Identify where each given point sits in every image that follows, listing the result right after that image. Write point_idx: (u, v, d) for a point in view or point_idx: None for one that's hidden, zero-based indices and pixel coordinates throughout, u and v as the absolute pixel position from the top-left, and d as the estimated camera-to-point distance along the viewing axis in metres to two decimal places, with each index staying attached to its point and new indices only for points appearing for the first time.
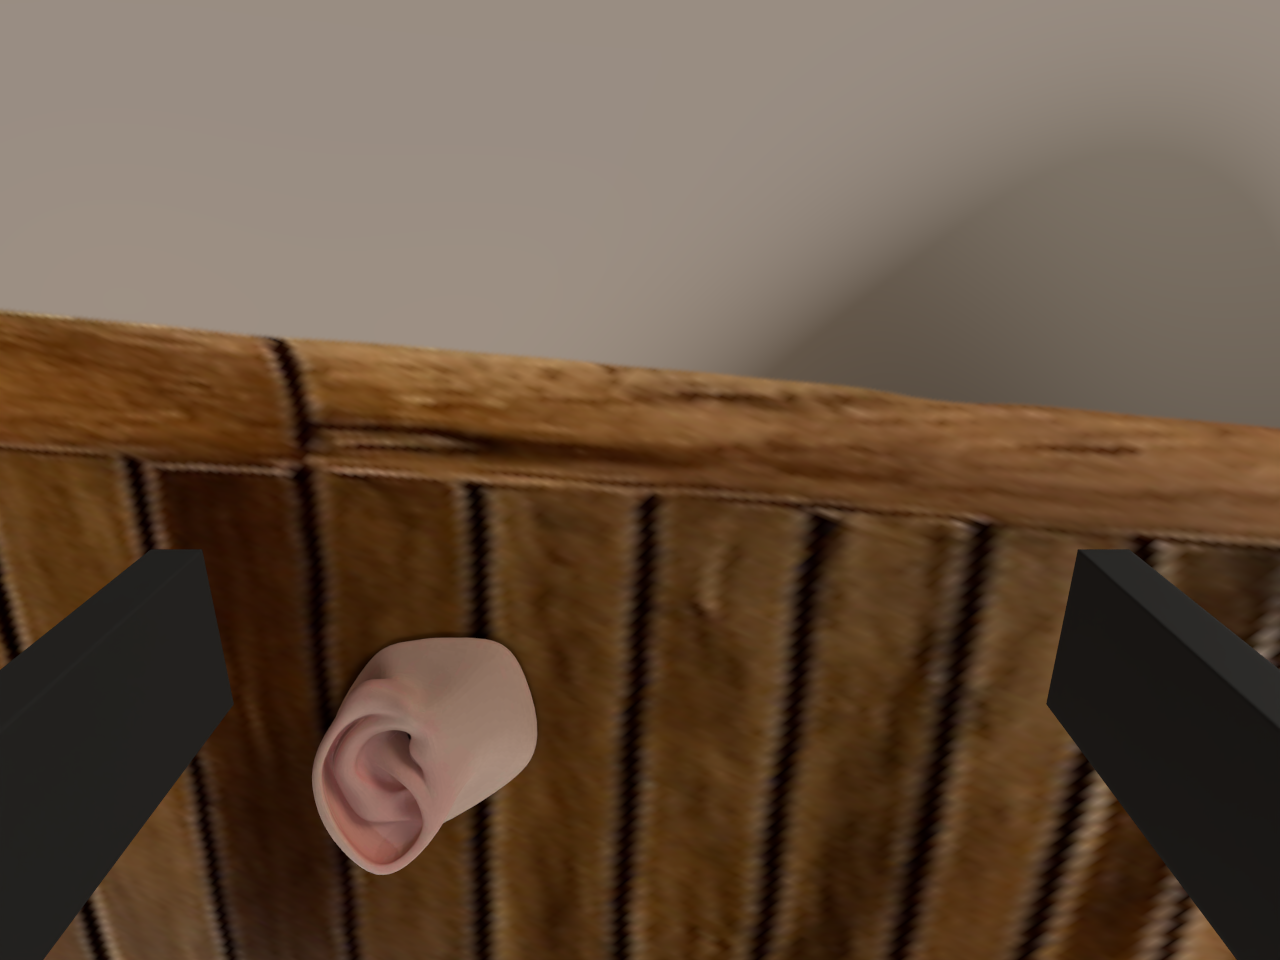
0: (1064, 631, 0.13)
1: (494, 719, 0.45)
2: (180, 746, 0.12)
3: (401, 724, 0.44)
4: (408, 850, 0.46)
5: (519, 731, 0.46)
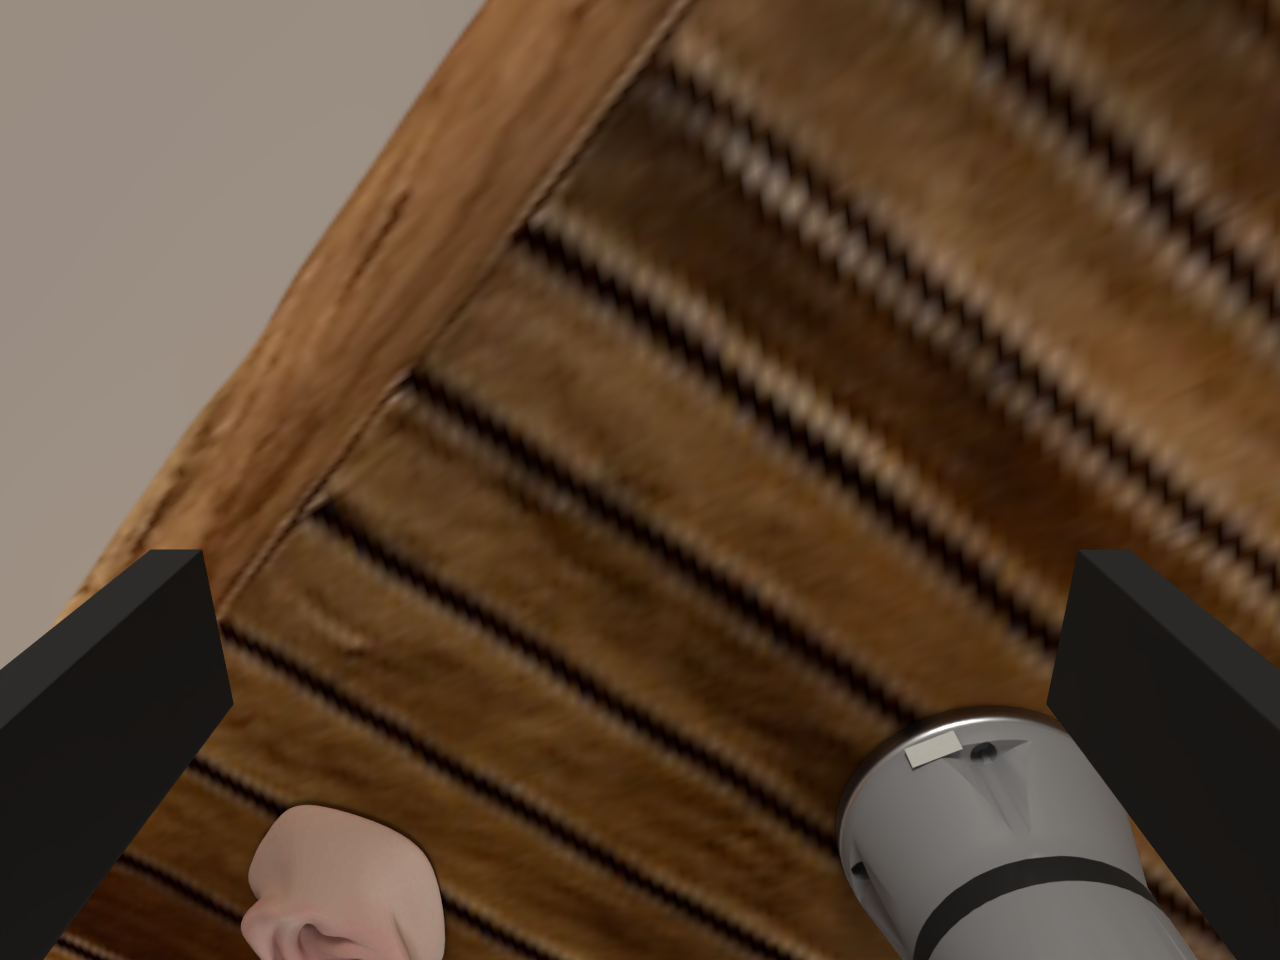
0: (1064, 631, 0.13)
1: (346, 859, 0.47)
2: (180, 745, 0.12)
3: (286, 925, 0.46)
4: None
5: (377, 848, 0.47)
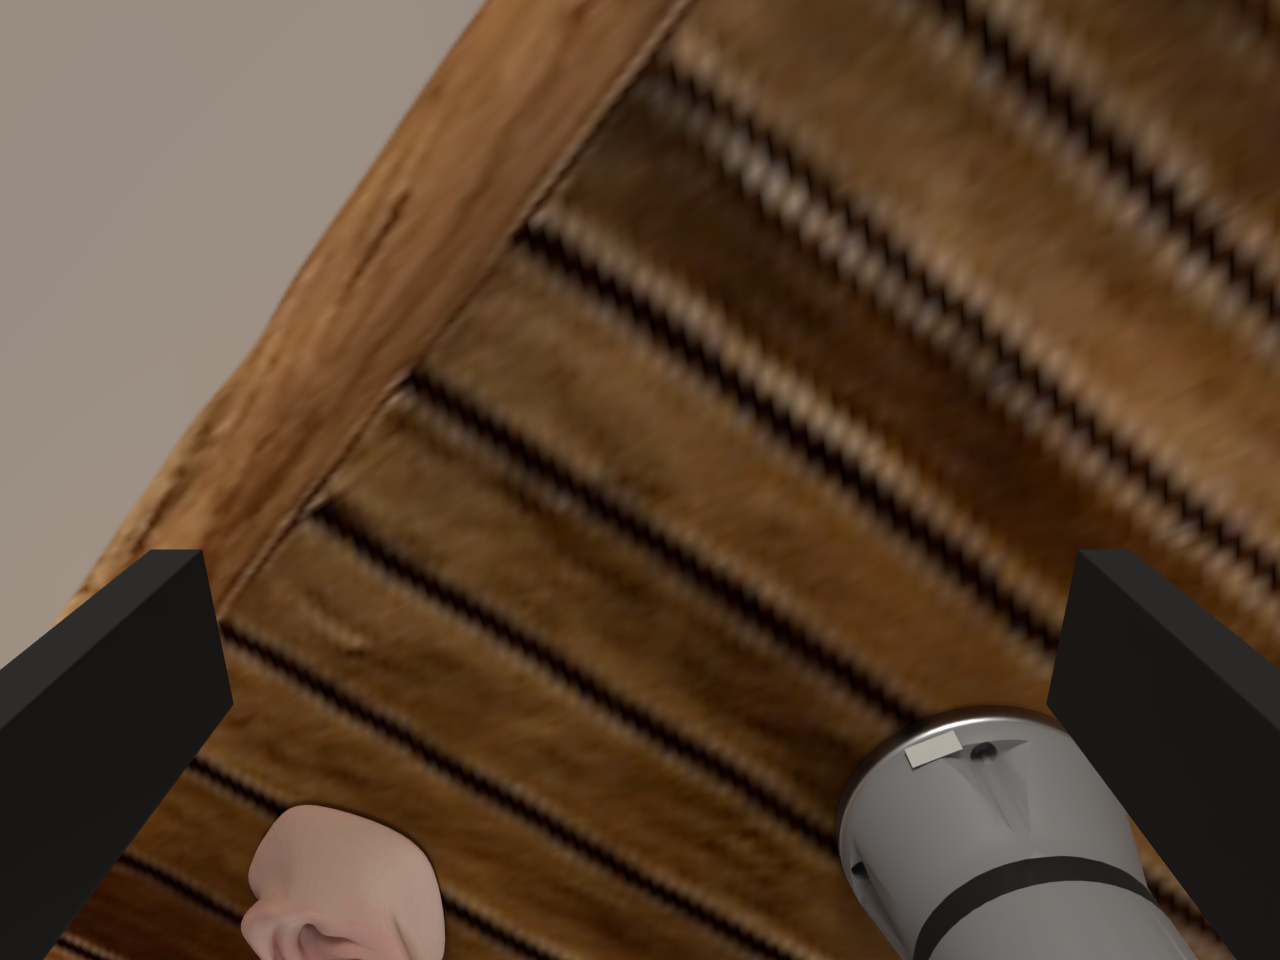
0: (1064, 631, 0.13)
1: (346, 859, 0.47)
2: (180, 745, 0.12)
3: (286, 925, 0.46)
4: None
5: (377, 848, 0.47)
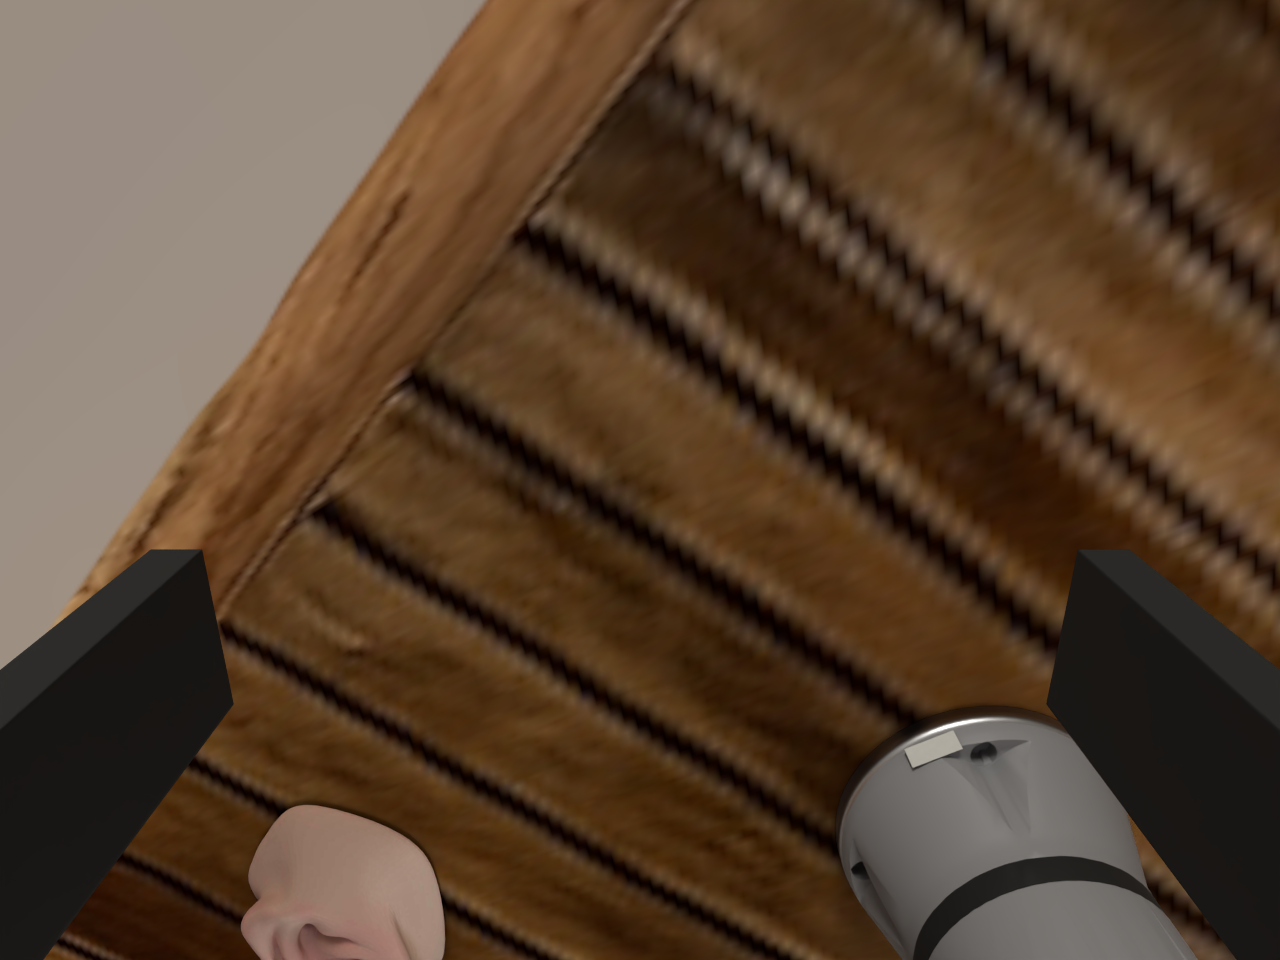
0: (1064, 631, 0.13)
1: (346, 859, 0.47)
2: (180, 745, 0.12)
3: (286, 925, 0.46)
4: None
5: (377, 848, 0.47)
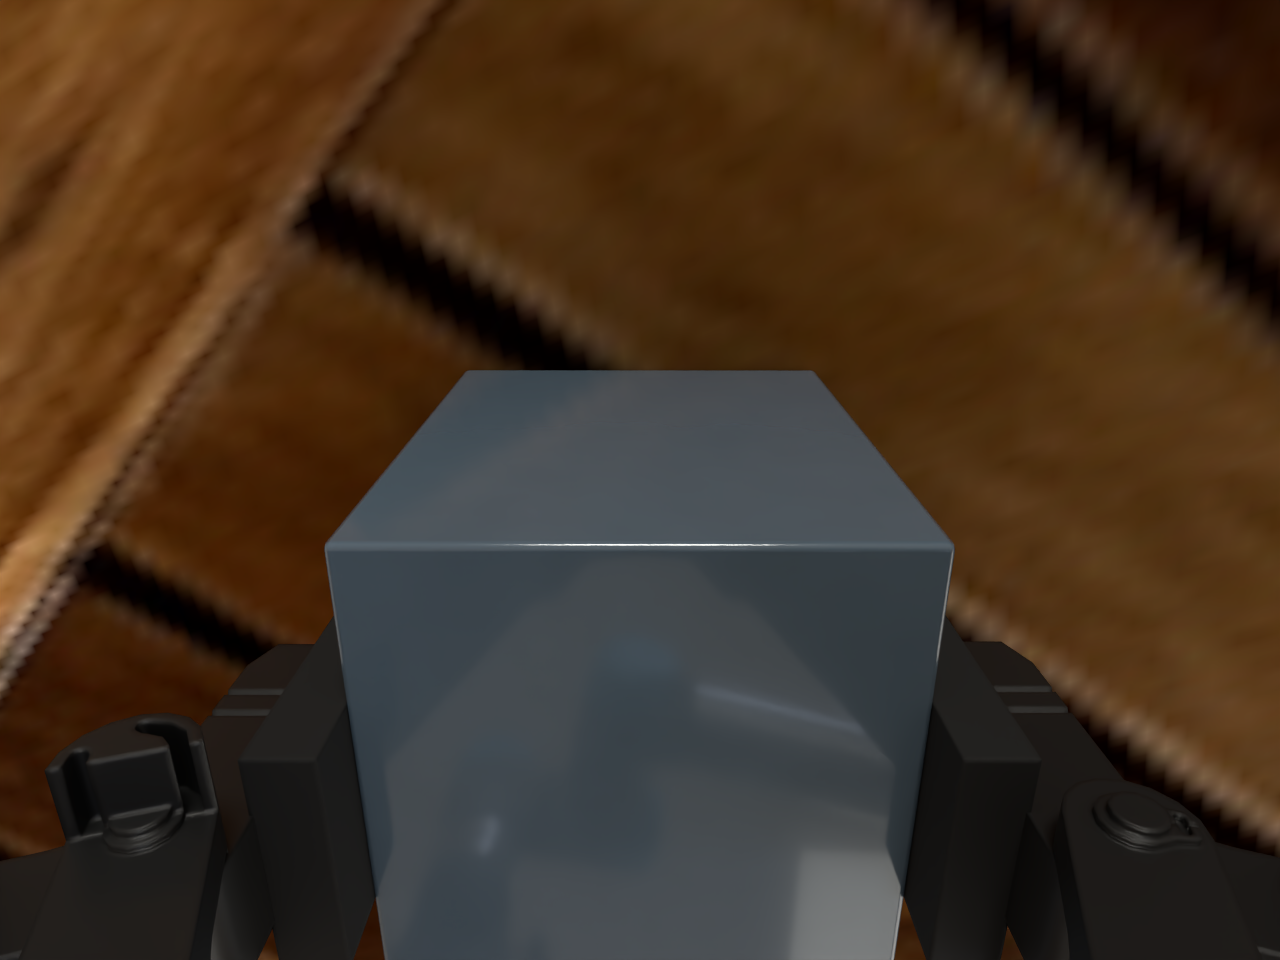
0: None
1: None
2: None
3: None
4: None
5: None
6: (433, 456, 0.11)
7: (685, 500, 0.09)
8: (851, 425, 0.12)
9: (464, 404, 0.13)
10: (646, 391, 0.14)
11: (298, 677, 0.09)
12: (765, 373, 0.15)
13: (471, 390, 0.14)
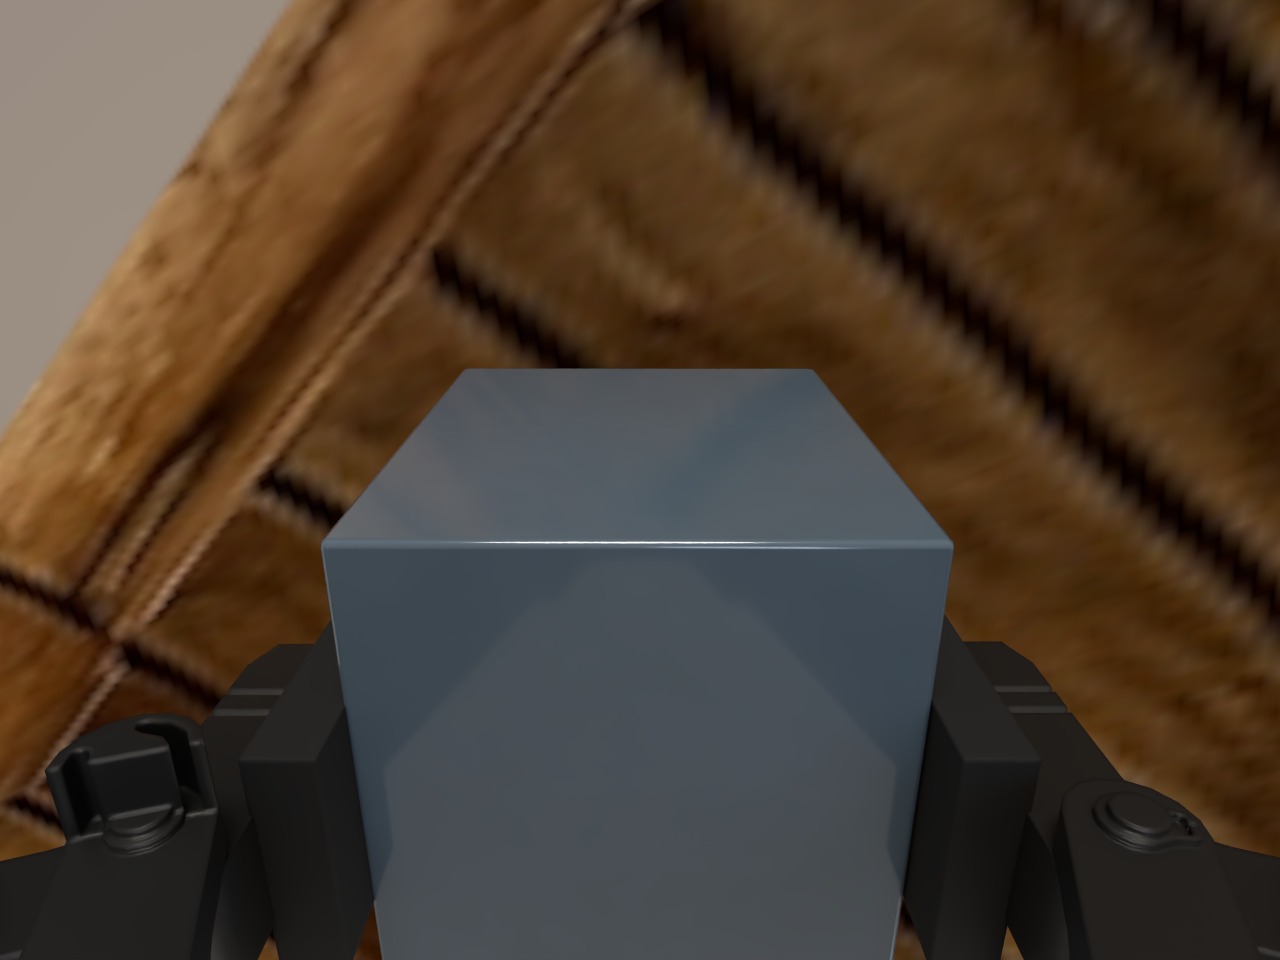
0: None
1: None
2: None
3: None
4: None
5: None
6: (431, 453, 0.11)
7: (683, 497, 0.09)
8: (850, 423, 0.12)
9: (462, 402, 0.13)
10: (645, 389, 0.13)
11: (299, 677, 0.09)
12: (764, 371, 0.15)
13: (469, 388, 0.14)
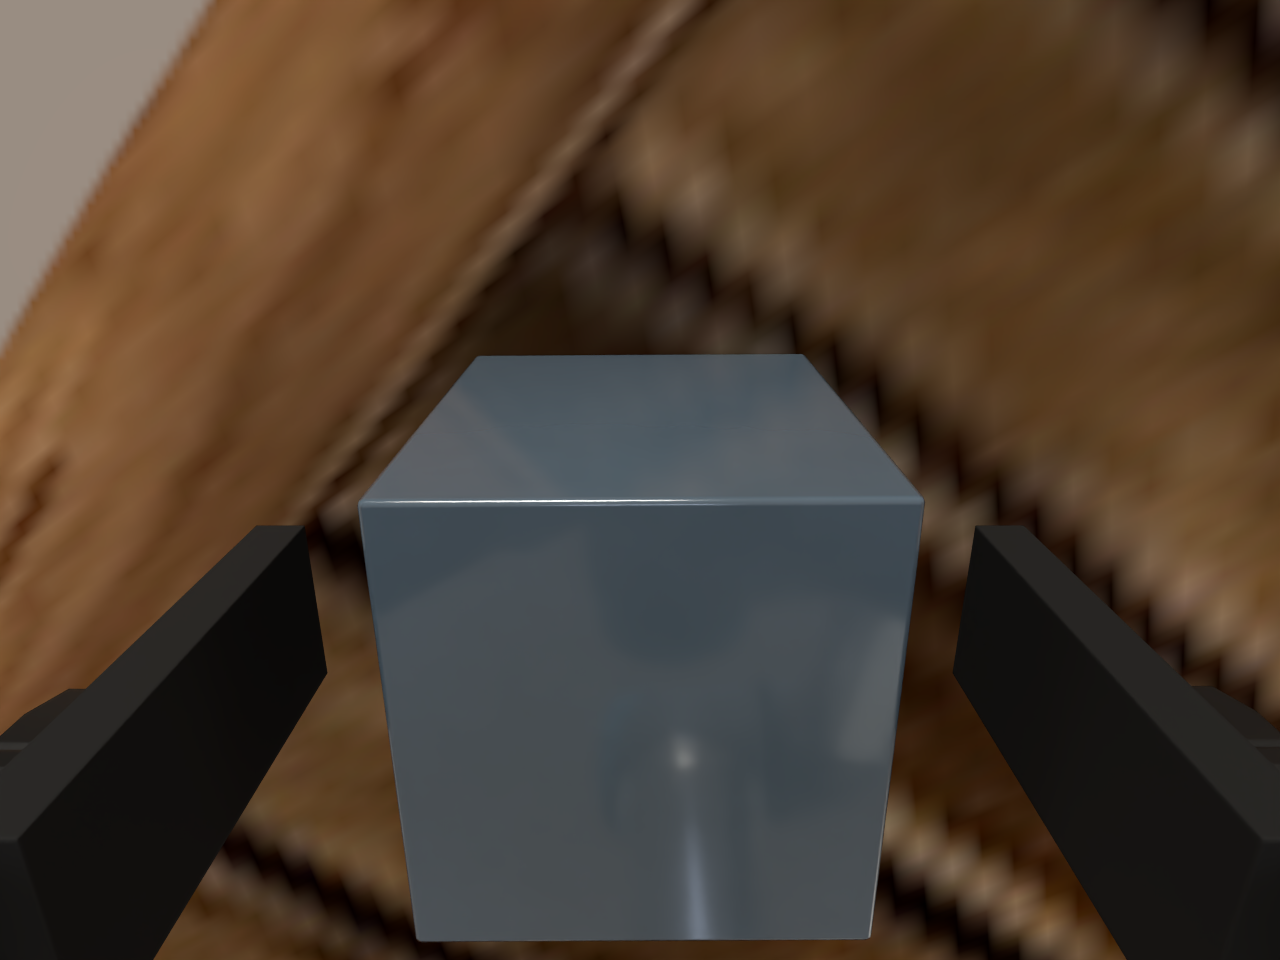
0: (966, 603, 0.14)
1: None
2: (289, 708, 0.13)
3: None
4: None
5: None
6: (450, 428, 0.12)
7: (682, 464, 0.10)
8: (836, 400, 0.13)
9: (476, 384, 0.14)
10: (646, 373, 0.14)
11: (44, 735, 0.08)
12: (758, 356, 0.16)
13: (482, 373, 0.14)
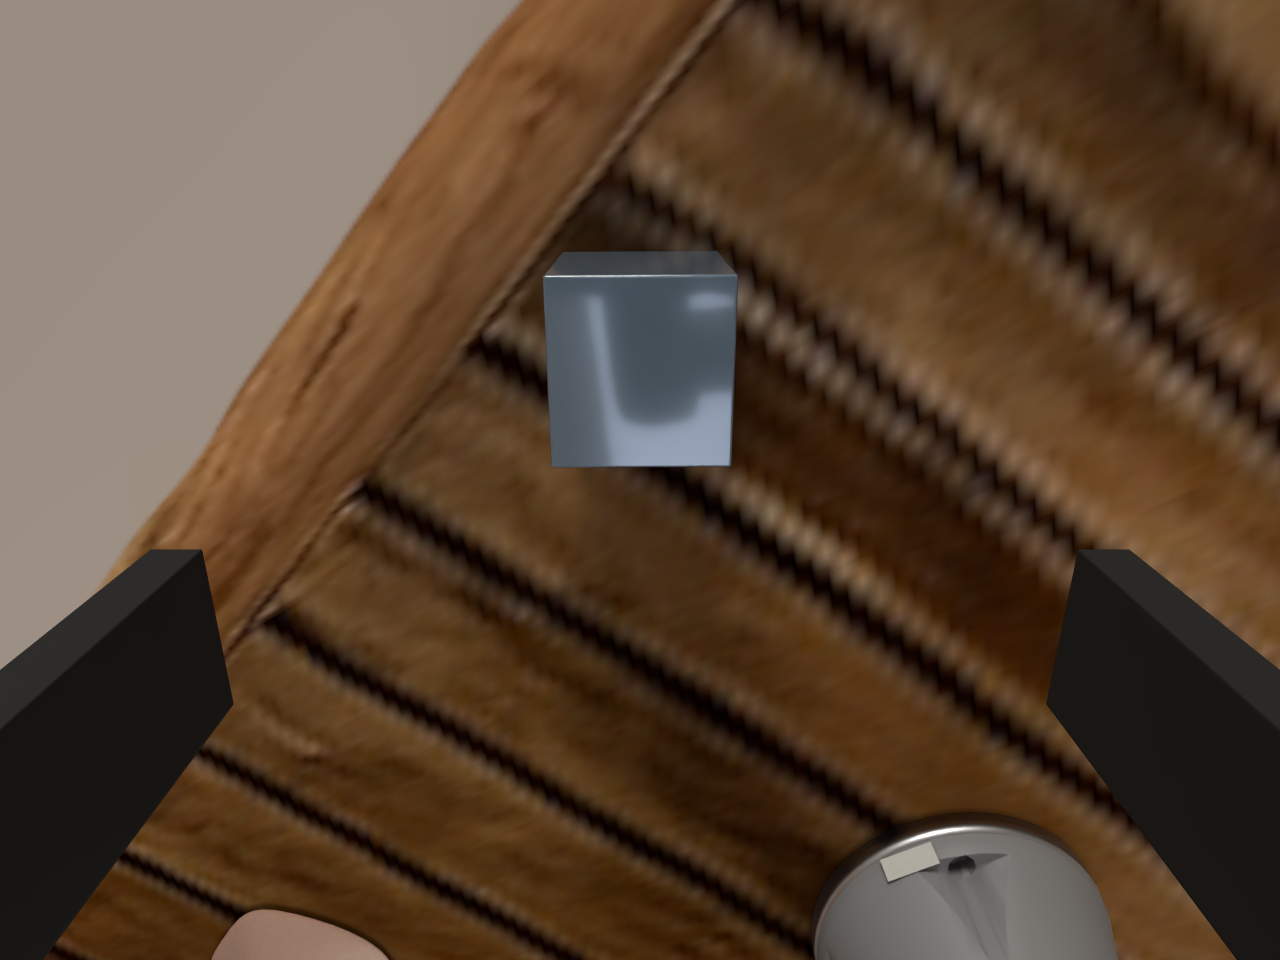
0: (1064, 630, 0.13)
1: None
2: (180, 746, 0.12)
3: None
4: None
5: (337, 953, 0.45)
6: (565, 265, 0.29)
7: (655, 270, 0.28)
8: (722, 260, 0.30)
9: (568, 257, 0.31)
10: (642, 255, 0.32)
11: None
12: (695, 251, 0.33)
13: (568, 255, 0.32)
